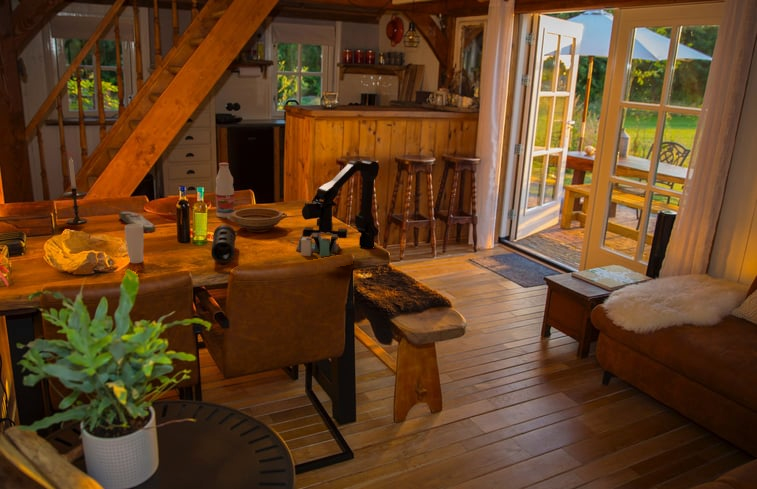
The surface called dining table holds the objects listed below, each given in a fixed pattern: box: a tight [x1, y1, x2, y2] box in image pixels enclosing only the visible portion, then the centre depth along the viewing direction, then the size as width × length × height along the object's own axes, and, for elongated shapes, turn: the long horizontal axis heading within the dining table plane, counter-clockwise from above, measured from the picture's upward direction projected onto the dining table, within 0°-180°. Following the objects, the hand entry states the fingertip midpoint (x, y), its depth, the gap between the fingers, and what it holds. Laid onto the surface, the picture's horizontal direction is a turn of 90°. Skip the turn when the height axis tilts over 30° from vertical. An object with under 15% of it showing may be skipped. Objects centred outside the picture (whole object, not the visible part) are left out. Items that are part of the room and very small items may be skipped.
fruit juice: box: [215, 162, 236, 219], centre depth 315 cm, size 9×9×28 cm
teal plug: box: [319, 237, 331, 258], centre depth 260 cm, size 4×4×7 cm
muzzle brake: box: [210, 224, 237, 266], centre depth 253 cm, size 10×28×10 cm, turn 12°
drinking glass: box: [124, 223, 145, 264], centre depth 239 cm, size 7×7×15 cm
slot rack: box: [295, 233, 340, 254], centre depth 269 cm, size 18×11×5 cm, turn 89°
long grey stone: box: [118, 210, 156, 233], centre depth 295 cm, size 35×5×10 cm
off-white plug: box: [300, 237, 313, 257], centre depth 260 cm, size 4×4×7 cm
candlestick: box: [61, 150, 88, 226], centre depth 289 cm, size 11×11×35 cm
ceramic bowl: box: [227, 207, 288, 233], centre depth 296 cm, size 30×24×8 cm
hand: (324, 251), depth 260 cm, fingers closed on teal plug, 4 cm apart
